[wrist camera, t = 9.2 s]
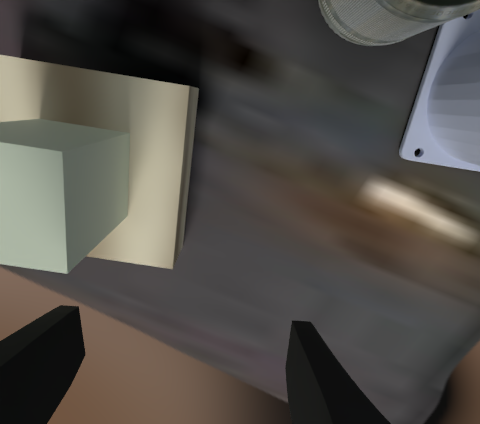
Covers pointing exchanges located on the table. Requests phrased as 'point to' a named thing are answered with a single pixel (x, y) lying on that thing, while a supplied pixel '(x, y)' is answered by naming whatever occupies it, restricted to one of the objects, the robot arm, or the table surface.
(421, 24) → the camera lens
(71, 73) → the birch block
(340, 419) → the robot arm
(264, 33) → the table surface
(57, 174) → the sage block
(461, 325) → the table surface
